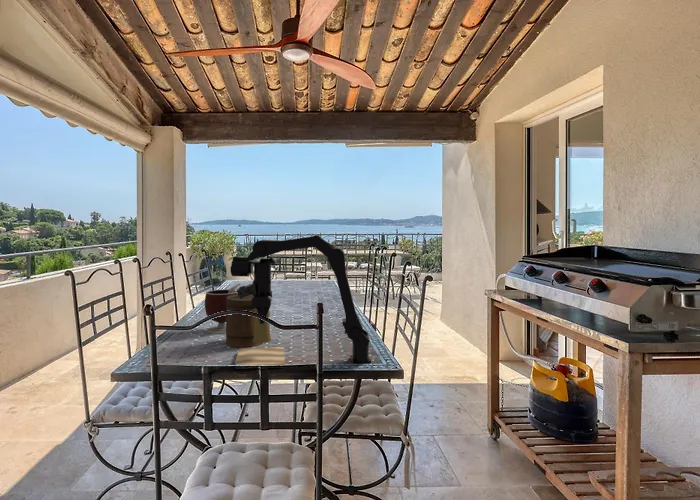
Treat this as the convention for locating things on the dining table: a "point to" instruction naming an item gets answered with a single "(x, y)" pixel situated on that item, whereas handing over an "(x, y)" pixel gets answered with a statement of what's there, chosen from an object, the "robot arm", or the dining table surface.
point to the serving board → (261, 356)
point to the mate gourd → (218, 307)
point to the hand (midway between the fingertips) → (262, 321)
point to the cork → (262, 331)
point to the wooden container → (240, 322)
